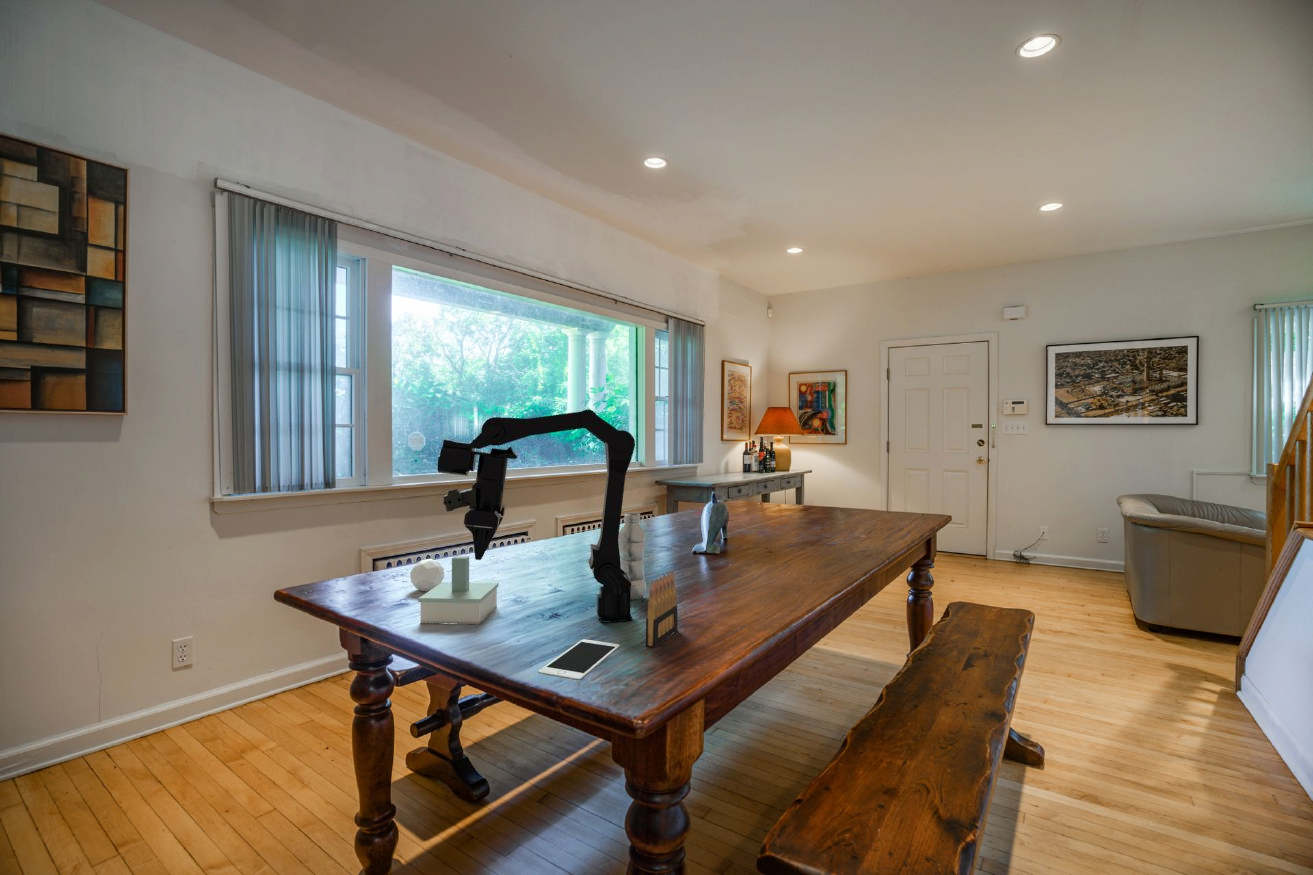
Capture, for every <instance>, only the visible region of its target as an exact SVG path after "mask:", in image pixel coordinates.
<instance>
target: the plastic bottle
mask: <svg viewBox="0 0 1313 875" xmlns="http://www.w3.org/2000/svg"><path fill="white" fill-rule="evenodd" d="M623 523H624V525H623V526H622V527H621V529H619V538H618V542H619V551H620V562H621V569H622V570H623V571H624V572H625V573H626V574H627V576H628V578H629V580H630V582H631V587H630V589H631V601H632V600H640V599H642V598H644V596H645V595H646V592H647V582H646V579H645V569H644V562H645V560H644V557H645V546H646V539H647V535H646V532H645V531H644V529H643V527H642V526H641V524H640V523H641V513H637V512H625V513H624V518H623Z"/></svg>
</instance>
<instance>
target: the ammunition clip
mask: <svg viewBox="0 0 1313 875" xmlns="http://www.w3.org/2000/svg"><path fill="white" fill-rule="evenodd" d="M666 573H667V574H663V575H662V576H659V577H658V578H656V579H655V581H654V580H651V582H650V584H649V589H648V590H649V596H648V603H647V617H646V619H645V647H650V648H653V647H655V648H657V647H658V646H659V645H660V644H662V643H663V642H664V641H666V640H667V639H668V638H669V637H668V636H670V635H671V634H672V633H673V632H675V631H676V630H678V604H677V592H676V581H675V580H676V578H675V573H674V571H673V570H671V571H670V572H666ZM676 632H677V631H676ZM676 632H675V633H676ZM672 635H673V634H672ZM672 635H671V636H672ZM671 636H670V637H671ZM667 637H668V638H667ZM666 638H667V639H666ZM665 639H666V640H665ZM662 641H663V642H662ZM661 642H662V643H661ZM659 643H660V644H659ZM657 645H658V646H657Z"/></svg>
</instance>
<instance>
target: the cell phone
mask: <svg viewBox="0 0 1313 875" xmlns="http://www.w3.org/2000/svg"><path fill="white" fill-rule="evenodd" d="M620 647H621V645H620V644H618V643H614V642H613V643H612V642H611V643H610V642H605V641H599V640H591V639H584V638H583V639H581V640H579V641H578V642H577V643H575V644H573V645H572V646H571V647H569V648H568V649H567V650H565V651H564V652H562V653H561V654H560V655H558V656H557V657H556V658H554V659H553V660H552V661H550V662H549V663H547V664H546V665H544V666H542V667H541V668H540V669H539V670H537V673H538V674H541V673H542V674H543V675H547V676H554V677H560V678H565V679H571V680H578V681H579V680H582V679H583V678H584V677H585V676H587V675H588V674H589V673H590V672H591V671H593V669H595V668H596V667H598V665H600V664H601V663H602V662H603V661H605V660H606V659H607V658H608V657H609V656H610V655H612V654H613V653H614V652H616V650H618V649H619V648H620Z"/></svg>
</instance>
